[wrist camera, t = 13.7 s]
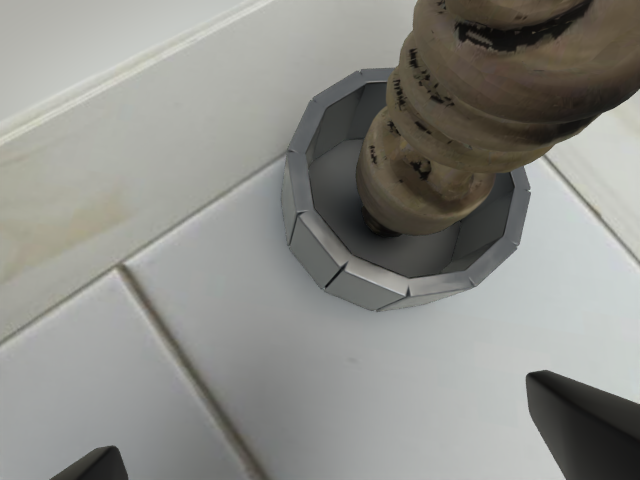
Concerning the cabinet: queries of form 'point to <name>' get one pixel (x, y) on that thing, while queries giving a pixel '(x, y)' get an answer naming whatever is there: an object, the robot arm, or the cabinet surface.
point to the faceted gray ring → (361, 275)
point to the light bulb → (488, 101)
